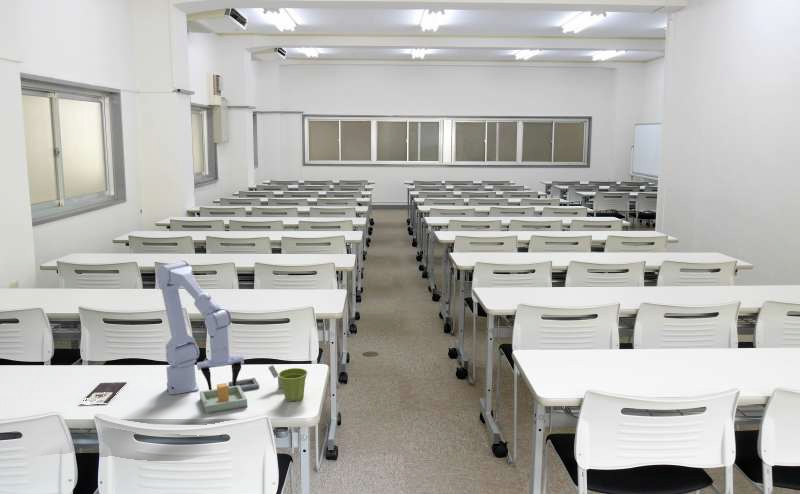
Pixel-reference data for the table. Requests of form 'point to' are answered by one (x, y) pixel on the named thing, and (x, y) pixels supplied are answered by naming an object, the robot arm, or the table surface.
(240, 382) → the frame
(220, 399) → the pin
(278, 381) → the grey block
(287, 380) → the plant pot
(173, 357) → the robot arm
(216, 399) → the tray
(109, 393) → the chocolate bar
